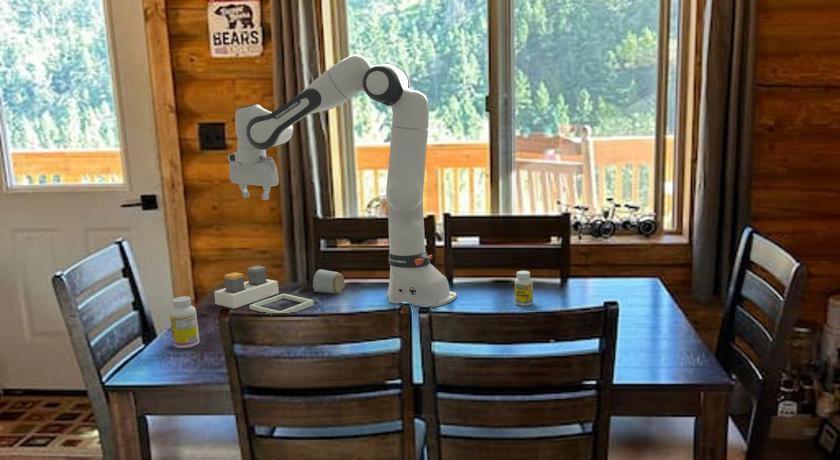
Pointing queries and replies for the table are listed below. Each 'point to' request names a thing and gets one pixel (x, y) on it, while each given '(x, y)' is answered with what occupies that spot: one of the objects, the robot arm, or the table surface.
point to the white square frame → (303, 305)
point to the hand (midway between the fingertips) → (255, 198)
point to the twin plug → (256, 275)
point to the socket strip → (246, 294)
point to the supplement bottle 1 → (184, 323)
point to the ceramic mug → (328, 282)
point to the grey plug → (234, 282)
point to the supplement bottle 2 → (523, 289)
